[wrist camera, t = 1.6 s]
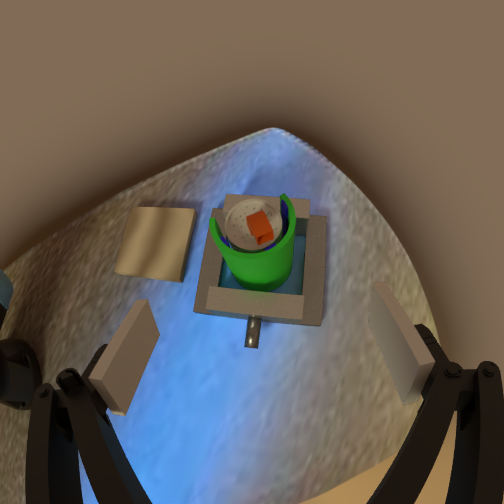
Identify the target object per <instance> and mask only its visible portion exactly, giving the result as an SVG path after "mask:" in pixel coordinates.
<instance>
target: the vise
mask: <svg viewBox="0 0 504 504" xmlns="http://www.w3.org/2000/svg"><path fill="white" fill-rule="evenodd" d="M247 199H262V200H265V201H268V202H270V203H271V204H273V205H274V206H275V207H276V208H277V209H278V211H279V212H280V197H270V196H254V195H236V194H226V197H225V202H224V207H223V209H221V208H213V209H212V214H211V218H215V219H216V221H217V223H218V225H219V228H220V230H221V232H222V234H223V236H224V238H225V240H226V241H227V242H228V237H227V235H226V232H225V219H226V216H227V214H228V213H229V211H230V210H231V209H232V208H233V207H234V206H235V205H236V204H238V203H239V202H242V201H244V200H247ZM289 199H290V201H291V202H292V204H293V207H294V210H295V214H296V225H295V235H296V236H306V241H305V257H304V271H303V284H302V295H292V294H280V293H270V292H260V291H250V290H240V289H231V288H222V287H220V284H221V278H222V272H223V266H224V260H225V259H224V257H223V256H222V254H221V252H220V250H219V248H218V246H217V245H216V243H215V241H214V239H213V237H212V235H211V232H210V226H209V228H208V233H207V238H206V243H205V248H204V254H203V259H202V264H201V270H200V275H199V281H198V286H197V292H196V298H195V304H194V310H193V312H195V313H200V314H207V315H214V316H221V317H229V318H237V319H245V320H248V322H247V330H246V338H245V345H244V347H248V348H256V349H258V345H259V337H260V329H261V321H263V322H273V323H283V324H294V325H306V326H321V322H322V310H323V295H324V279H325V258H326V223H327V216H317V215H309V213H310V200H308V199H296V198H289Z"/></svg>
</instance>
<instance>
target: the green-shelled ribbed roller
mask: <svg viewBox="0 0 504 504" xmlns="http://www.w3.org/2000/svg"><path fill="white" fill-rule="evenodd" d="M295 225H296V214H295V210H294V207H293V204H292V202H291V201H290V199H289V198H288V197H287V196H286V195H285V194H282V195H280V212H279V211H278V209H277V208H276V207H275V206H274V205H273V204H271V203H270V202H268V201H265V200H262V199H247V200H244V201H242V202H239V203H238V204H236V205H235V206H234V207H233V208H232V209H231V210H230V211H229V213H228V214H227V216H226V219H225V232H226V235H227V237H228V239H229V242H230V244H231V246H232V249H231V248H230V246H229V244H228V243H227V241H226V240H225V238H224V236H223V234H222V232H221V230H220V228H219V225H218V223H217V221H216V219H215V218H210V220H209V226H210V232H211V235H212V237H213V239H214V241H215V243H216V245H217V246H218V248H219V250H220V252H221V254H222V256H223V257H224V259H225V261H226V263H227V265H228V266H229V268H230V270H231V272H232V274H233V275H234V277H235V279H236V280H237V282H238V283H239V284H240V285H241V286H243V287H244V288H246V289H248V290H250V291H260V292H269V291H272V290H274V289H276V288H278V287H280V286H281V285H282V284H283V283H284V282H285V281H286V280H287V278H288V277H289V275H290V272H291V269H292V260H293V249H294V237H295Z"/></svg>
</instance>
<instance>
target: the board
mask: <svg viewBox="0 0 504 504" xmlns="http://www.w3.org/2000/svg"><path fill="white" fill-rule="evenodd" d="M196 216H197V212H196V210H195V209H187V208H162V207H132V210H131V213H130V216H129V219H128V223H127V226H126V229H125V233H124V236H123V240H122V243H121V247H120V251H119V254H118V258H117V262H116V266H115V270H114V271H115V272H116V273H118V274H123V275H129V276H136V277H143V278H150V279H158V280H165V281H172V282H180V283H182V282H183V277H184V272H185V267H186V262H187V257H188V252H189V247H190V243H191V238H192V233H193V229H194V224H195V220H196Z"/></svg>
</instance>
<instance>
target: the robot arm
mask: <svg viewBox="0 0 504 504" xmlns="http://www.w3.org/2000/svg"><path fill="white" fill-rule="evenodd" d="M12 294H13V285H12V282H11V281H10V279H9V278H8V277H7V275H6V274H5V273H4V272H3V271H2V270H1V269H0V330H1V327H2V324H3V321H4V318H5V315H6V312H7V310H8V309H9V303H10V300H11V297H12ZM368 323H369V325H370V327H371V329H372V331H373V334H374V336H375V338H376V340H377V343H378V345H379V347H380V350H381V352H382V354H383V356H384V359H385V361H386V364H387V366H388V368H389V371H390V373H391V376H392V378H393V380H394V383H395V385H396V388H397V390H398V393H399V396H400V398H401V401H402V403H403V405H406V404H410V403H413V402H417V401H418V399H419V397H420V395H422V397H423V399H424V401H423V403H422V405H421V406H420V408H419V410H418V412H417V413H418V414H417V416H416V418H415V420H414V423H413V425H412V427H411V429H410V431H409V433H408V435H407V437H406V439H405V441H404V443H403V445H402V447H401V449H400V450H399V452H398V454H397V456H396V458H395V460H394V461H393V463H392V465H391V466H390V468H389V470H388V471H387V473H386V475H385V476H384V478H383V479H382V481H381V483H380V484H379V486H378V487H377V489H376V490H375V492H374V493H373V495H372V496H371V498H370V499H369V501H368V502H367V503H366V504H414V502H415V501H416V499H417V498H418V496H419V494H420V492H421V490H422V488H423V486H424V484H425V482H426V480H427V478H428V476H429V474H430V472H431V470H432V468H433V465H434V463H435V461H436V459H437V456H438V454H439V451H440V449H441V446H442V444H443V441H444V439H445V436H446V434H447V431H448V428H449V425H450V422H451V419H452V416H453V413H454V411H457V426H456V439H455V449H454V458H453V465H452V471H451V477H450V483H449V488H448V493H447V497H446V502H445V504H502V501H503V494H504V396H503V388H502V380H501V374H500V370H499V367H498V366H497V365H496V364H495V363H493V362H490V361H483V362H482V363H480V364H479V366H478V368H477V369H467V370H464V369H462V367H461V366H460V365H459V364H457V363H455V362H450V361H449V360H448V358H447V356H446V355H445V353H444V351H443V350H442V348H441V347H440V345H439V343H437V340H436V339H435V337H434V336H433V334H432V333H431V331H430V330H429V329H428V328H427V327H426V326H424V325H423V324H418V325H413V324H412V322H411V320H410V319H409V317H408V316H407V314H406V313H405V311H404V309H403V308H402V306H401V305H400V303H399V302H398V300H397V299H396V297H395V296H394V294H393V293H392V291H391V290H390V288H389V287H388V285H387V284H386V283H385V281H384V282H376V283H373V285H372V294H371V302H370V310H369V317H368ZM159 336H160V333H159V331H158V328H157V325H156V322H155V319H154V317H153V314H152V311H151V308H150V305H149V302H148V299H144V300H136V302H135V303H134V305H133V306H132V308H131V309H130V311H129V312H128V314H127V315H126V317H125V319H124V320H123V322H122V323H121V325H120V326H119V328H118V330H117V331H116V333H115V334H114V336H113V338H112V339H111V341H110V342H109V344H104V345H102V346H101V347H100V348H99V349H98V350H97V352H96V353H95V355H94V357H93V358H92V360H91V363H89V364H88V366H87V368H86V369H85V371H84V373H83V374H82V376H80V375H79V373H78V372H77V370H76V369H74V368H68V369H65V370H63V371H61V372H60V373H59V374H58V376H57V378H56V383H57V384H58V385H59V387H60V388H61V389H60V390H54V388H53V387H52V385H51V384H48V383H44V384H42V385H41V374H40V369H39V365H38V361H37V359H36V356H35V354H34V352H33V350H32V349H31V347H30V346H29V345H28V344H27V343H26V342H25V341H23V340H20V339H15V338H8V339H4V340H0V403H2V404H4V405H7V406H9V407H12V408H14V409H17V410H30V409H31V415H30V422H29V430H28V440H27V452H26V476H25V491H26V504H83V498H82V490H81V482H80V472H79V459H78V450H79V453H80V456H81V459H82V462H83V465H84V468H85V471H86V474H87V476H88V479H89V482H90V484H91V487H92V489H93V492H94V494H95V496H96V499H97V501H98V503H99V504H152V502H151V501H150V499H149V497H148V496H147V494H146V492H145V491H144V489H143V487H142V485H141V484H140V482H139V480H138V478H137V476H136V475H135V473H134V471H133V469H132V467H131V465H130V463H129V461H128V459H127V457H126V455H125V453H124V451H123V449H122V447H121V445H120V442H119V440H118V438H117V436H116V433H115V431H114V429H113V426H112V424H111V422H110V419H109V417H108V415H107V414H106V410H107V408H109V409H110V410H111V412H112V413H113V414H116V415H122V416H126V413H127V411H128V408H129V406H130V404H131V401H132V399H133V396H134V394H135V391H136V389H137V387H138V384H139V382H140V379H141V377H142V375H143V372H144V370H145V368H146V365H147V363H148V361H149V359H150V356H151V354H152V352H153V349H154V347H155V345H156V343H157V341H158V338H159Z"/></svg>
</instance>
